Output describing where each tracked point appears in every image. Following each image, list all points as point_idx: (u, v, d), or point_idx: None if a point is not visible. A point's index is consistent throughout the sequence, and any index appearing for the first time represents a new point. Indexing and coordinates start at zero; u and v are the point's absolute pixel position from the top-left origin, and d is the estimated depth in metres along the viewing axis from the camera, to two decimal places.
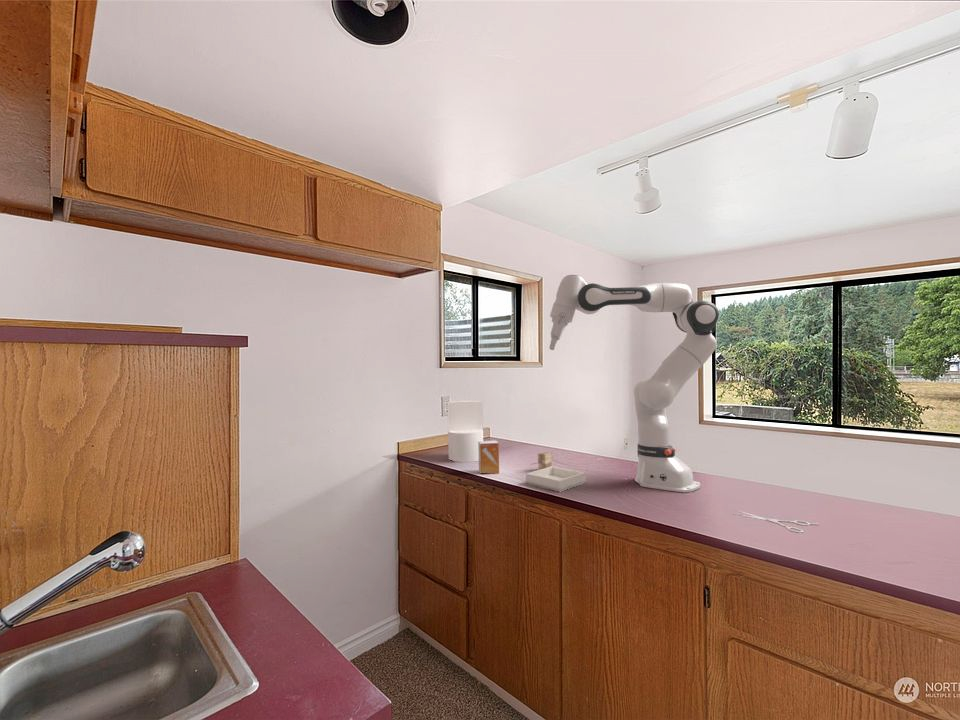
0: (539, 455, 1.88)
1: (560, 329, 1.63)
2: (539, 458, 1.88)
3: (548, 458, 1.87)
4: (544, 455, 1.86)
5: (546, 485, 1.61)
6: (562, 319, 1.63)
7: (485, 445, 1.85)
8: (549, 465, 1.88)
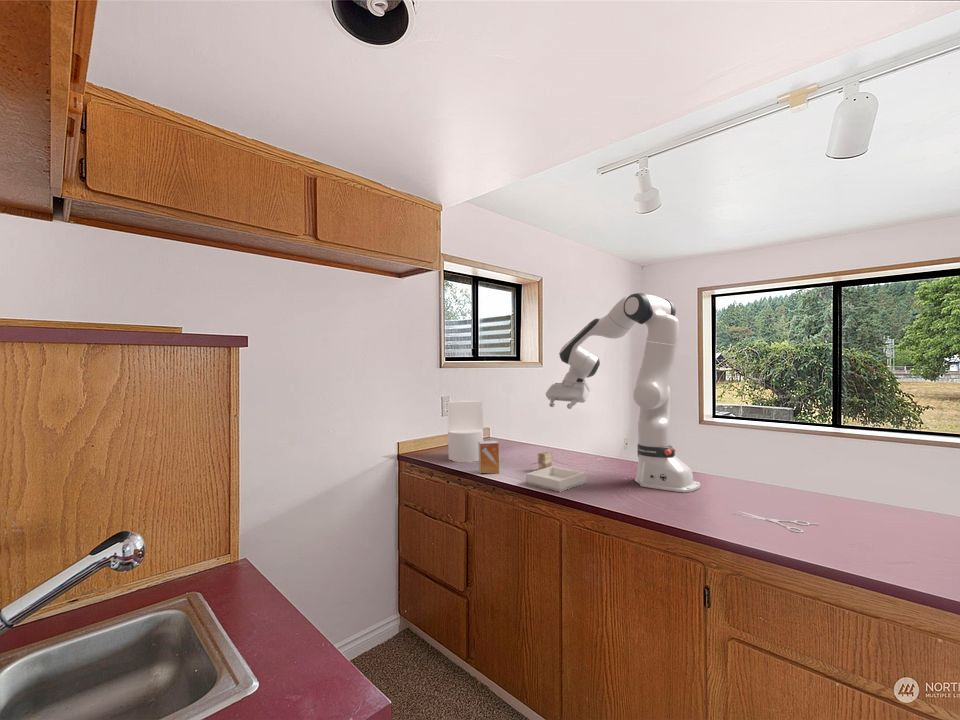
0: (539, 455, 1.88)
1: None
2: (539, 458, 1.88)
3: (548, 458, 1.87)
4: (544, 455, 1.86)
5: (546, 485, 1.61)
6: None
7: (485, 445, 1.85)
8: (549, 465, 1.88)
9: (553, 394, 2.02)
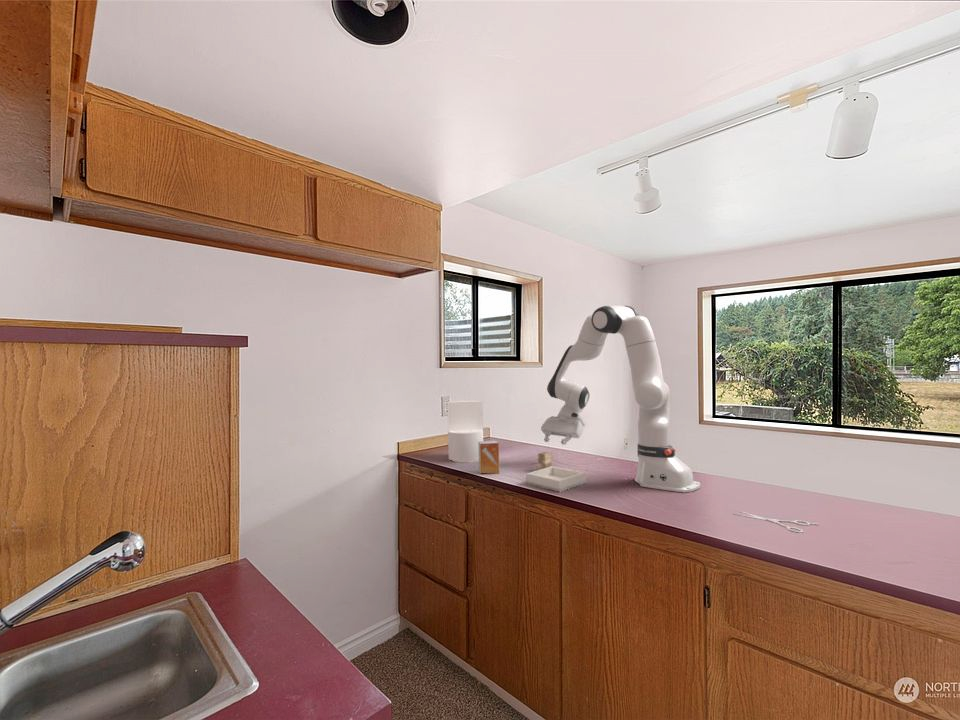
0: (539, 455, 1.88)
1: None
2: (539, 458, 1.88)
3: (548, 458, 1.87)
4: (544, 455, 1.86)
5: (546, 485, 1.61)
6: None
7: (485, 445, 1.85)
8: (549, 465, 1.88)
9: (548, 429, 1.99)
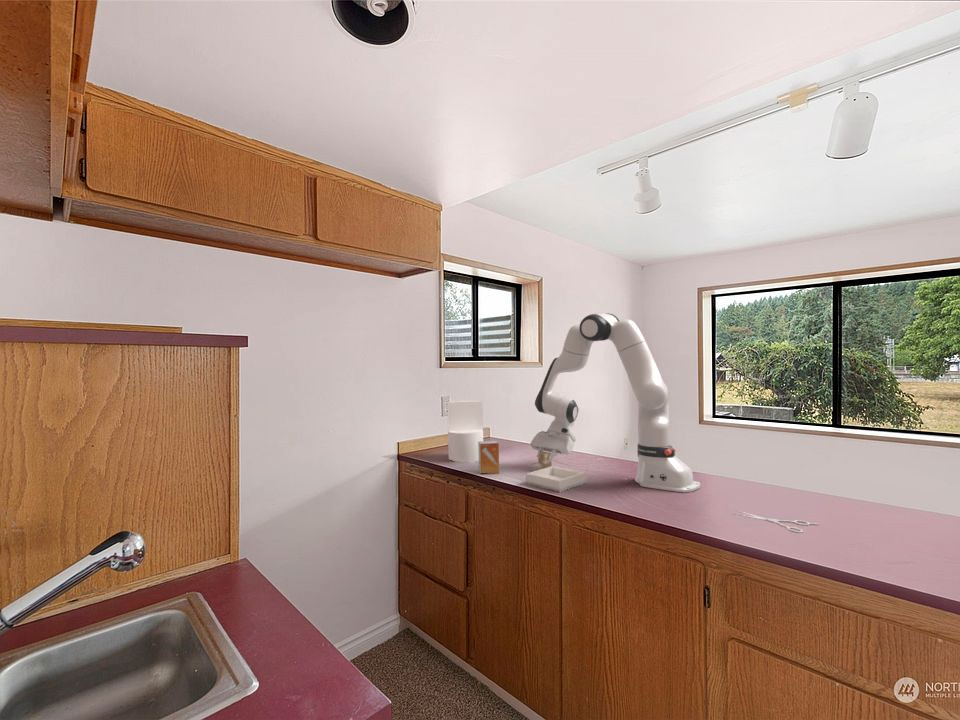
0: (539, 455, 1.88)
1: None
2: (539, 458, 1.88)
3: None
4: (544, 455, 1.86)
5: (546, 485, 1.61)
6: None
7: (485, 445, 1.85)
8: (549, 465, 1.88)
9: (538, 444, 1.94)
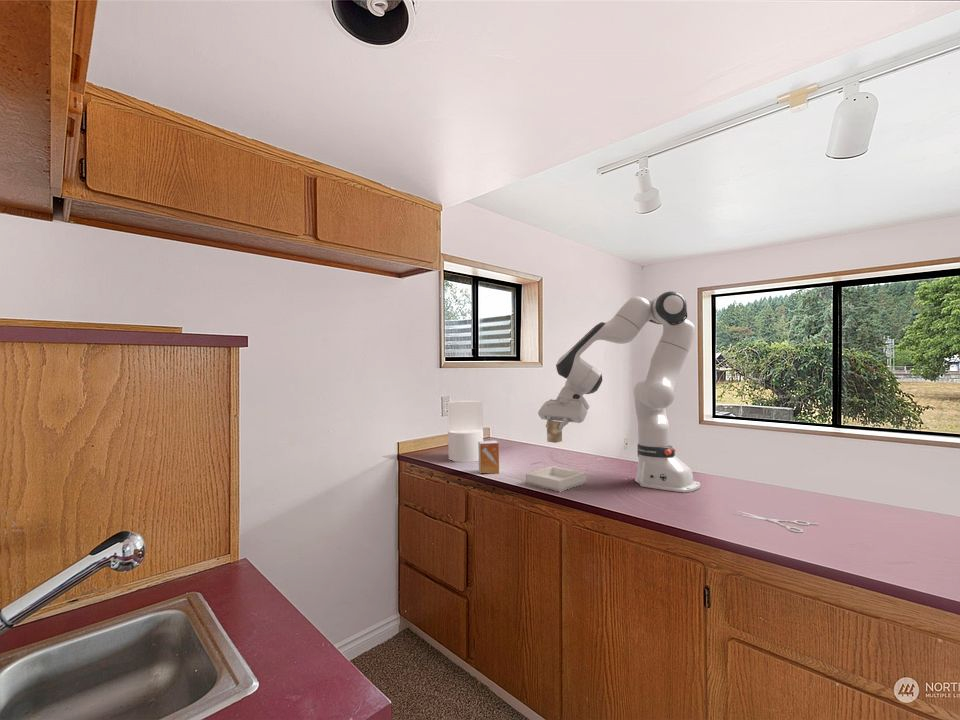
0: (548, 424, 1.68)
1: None
2: (547, 427, 1.68)
3: None
4: (554, 424, 1.66)
5: (546, 485, 1.61)
6: None
7: (485, 445, 1.85)
8: (559, 435, 1.67)
9: (546, 413, 1.74)
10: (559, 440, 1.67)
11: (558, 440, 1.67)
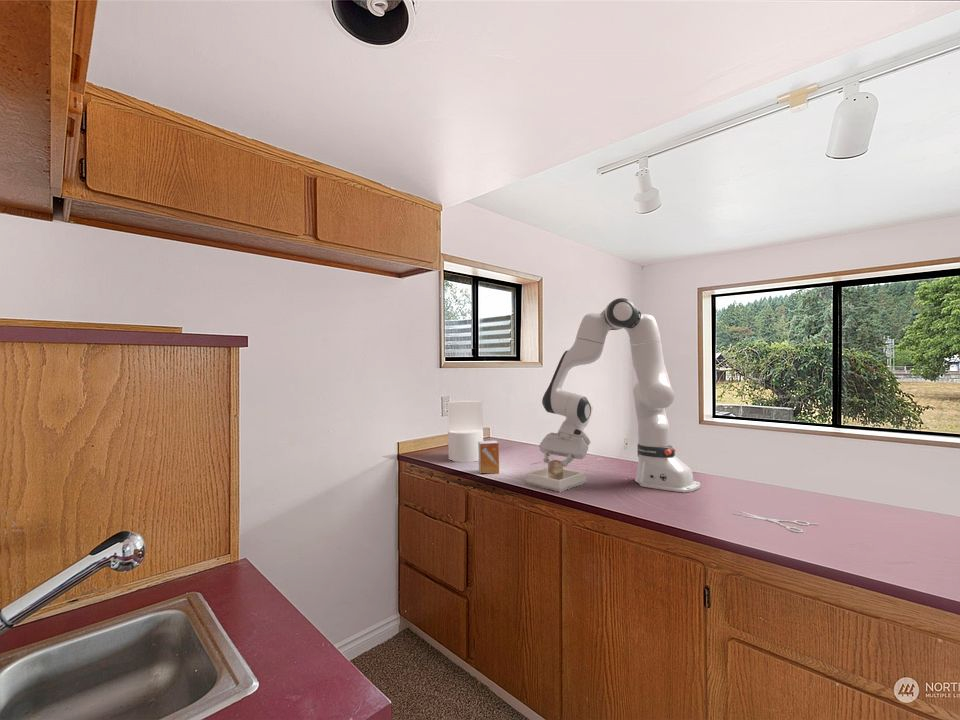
0: (549, 463, 1.68)
1: None
2: (549, 467, 1.68)
3: (559, 467, 1.67)
4: (555, 464, 1.66)
5: (546, 485, 1.61)
6: None
7: (485, 445, 1.85)
8: (560, 475, 1.67)
9: (547, 447, 1.73)
10: None
11: None
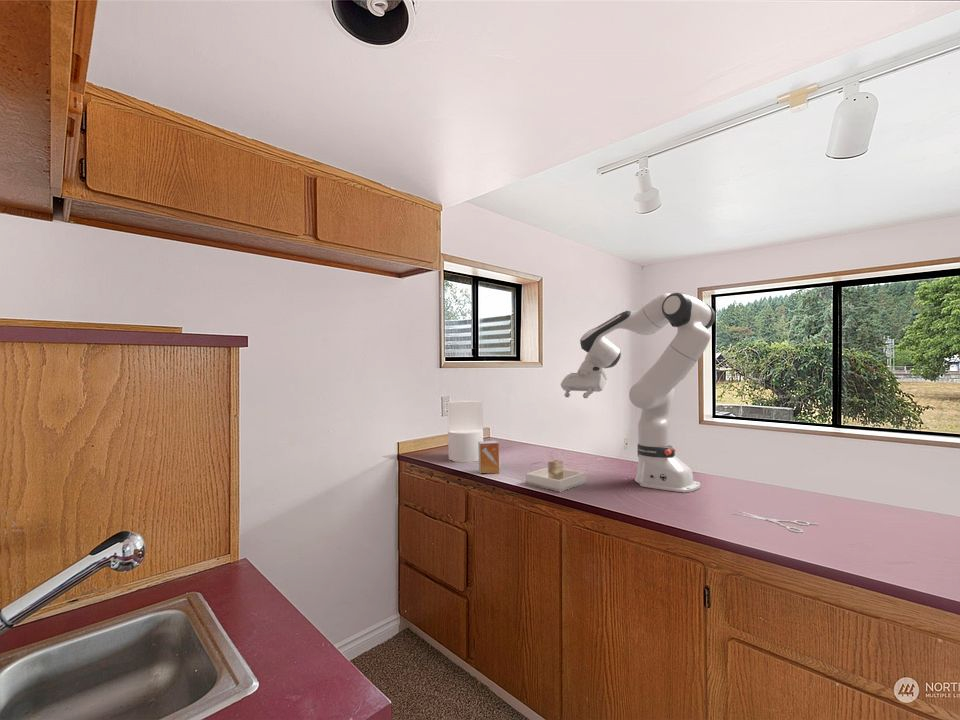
0: (549, 463, 1.68)
1: None
2: (549, 467, 1.68)
3: (559, 467, 1.67)
4: (555, 464, 1.66)
5: (546, 485, 1.61)
6: None
7: (485, 445, 1.85)
8: (560, 475, 1.67)
9: (568, 384, 1.93)
10: None
11: None
